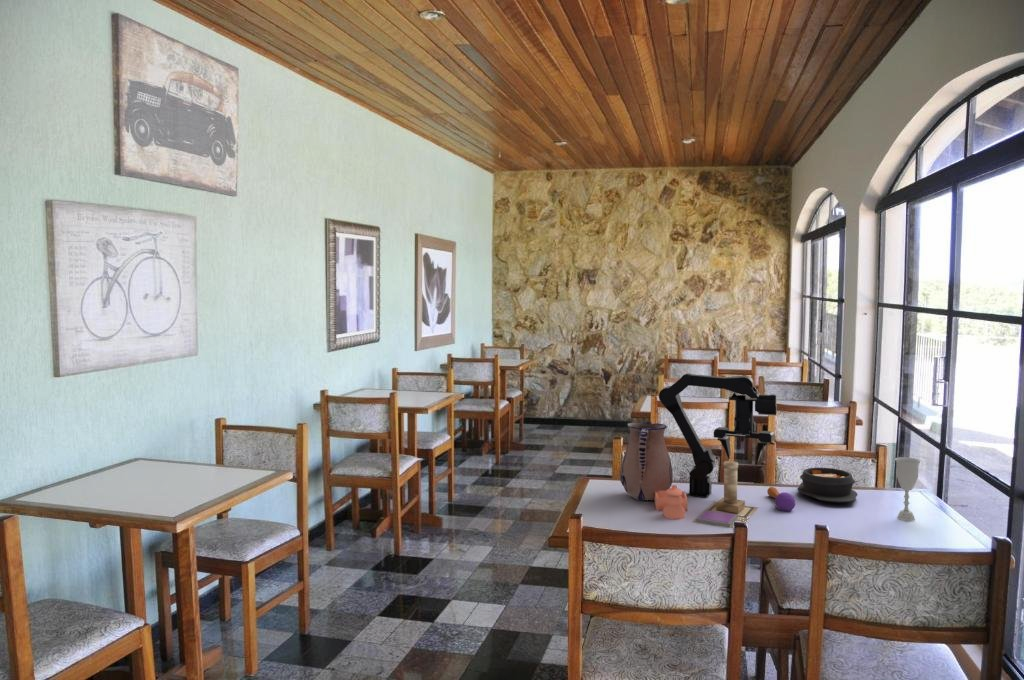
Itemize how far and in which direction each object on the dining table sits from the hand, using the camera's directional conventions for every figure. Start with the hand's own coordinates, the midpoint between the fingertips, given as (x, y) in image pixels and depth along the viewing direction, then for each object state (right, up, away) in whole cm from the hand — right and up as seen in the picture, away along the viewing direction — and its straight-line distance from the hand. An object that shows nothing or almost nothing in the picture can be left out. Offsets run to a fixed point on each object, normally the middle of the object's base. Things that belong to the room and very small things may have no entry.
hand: (743, 460), depth 243 cm
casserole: (+29, -13, +2) cm, 32 cm away
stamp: (-8, -14, -13) cm, 20 cm away
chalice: (+42, -14, -22) cm, 50 cm away
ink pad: (-15, -14, -23) cm, 31 cm away
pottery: (-27, -14, -13) cm, 33 cm away
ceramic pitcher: (-32, -13, +1) cm, 35 cm away
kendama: (+10, -14, -6) cm, 18 cm away
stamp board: (-11, -14, -18) cm, 25 cm away
